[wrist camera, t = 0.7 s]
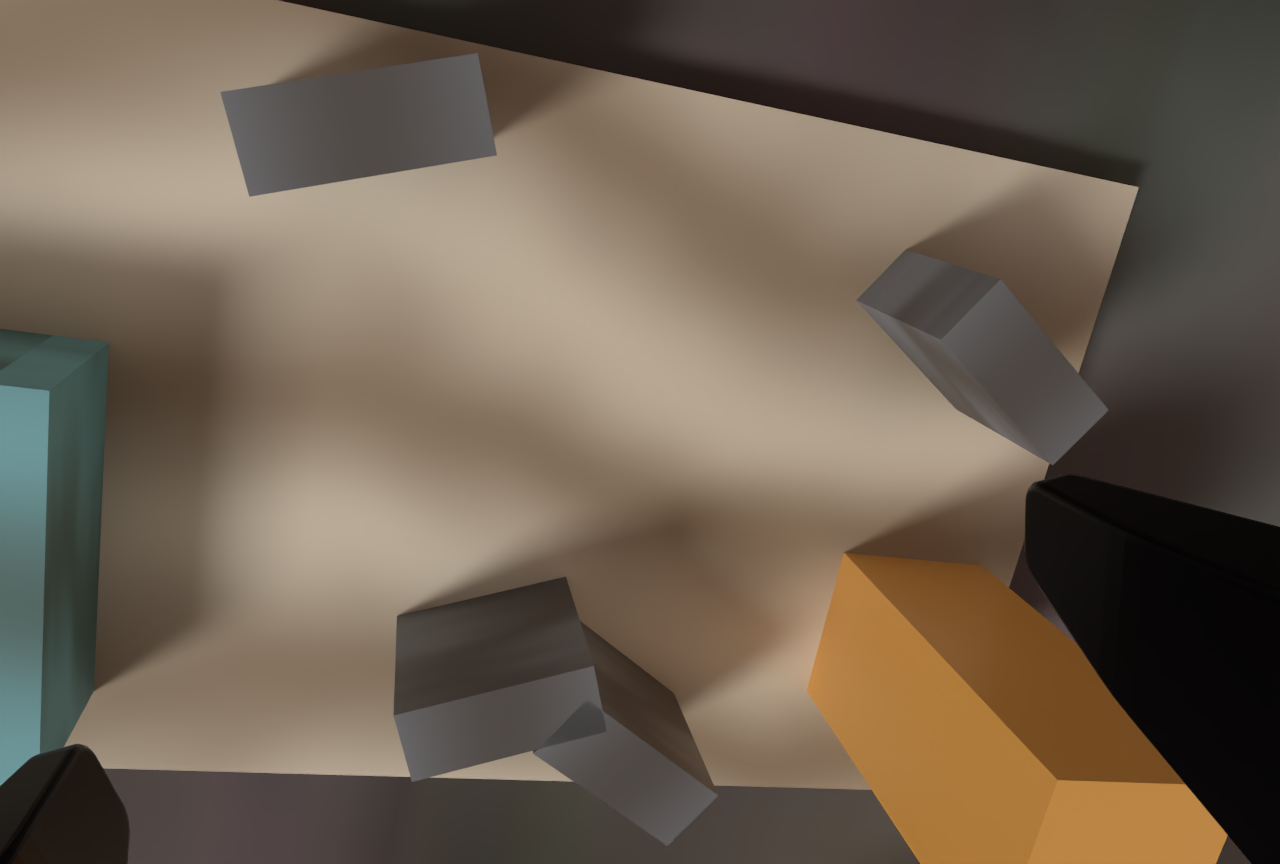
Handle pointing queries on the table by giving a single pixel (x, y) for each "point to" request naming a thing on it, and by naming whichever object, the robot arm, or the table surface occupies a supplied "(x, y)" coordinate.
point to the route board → (487, 400)
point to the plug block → (992, 726)
